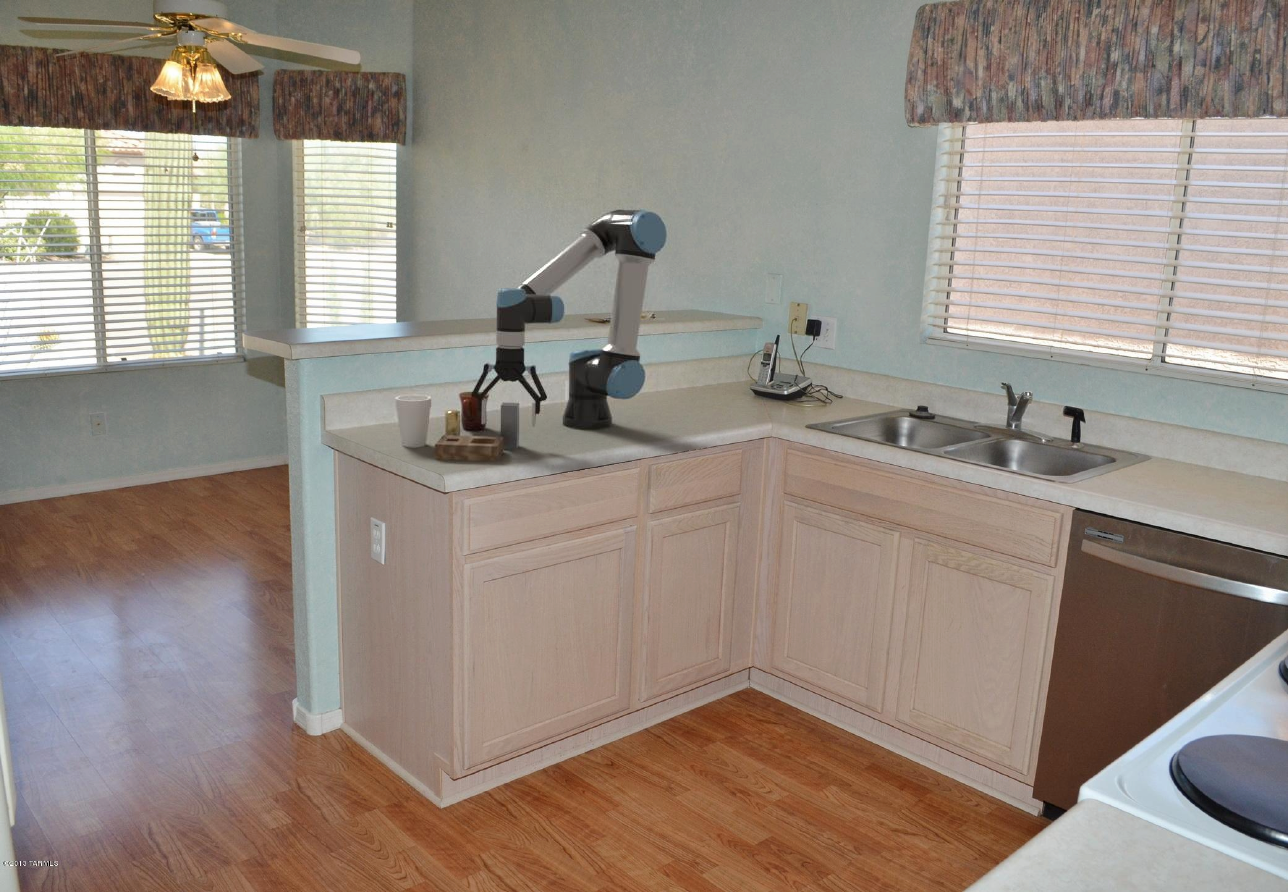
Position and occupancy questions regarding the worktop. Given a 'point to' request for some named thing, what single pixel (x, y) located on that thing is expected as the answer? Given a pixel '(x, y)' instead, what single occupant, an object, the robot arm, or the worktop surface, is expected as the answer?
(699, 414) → the worktop surface
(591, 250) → the robot arm
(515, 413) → the square bit
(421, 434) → the foam cup
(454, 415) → the brass dowel
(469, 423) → the mug
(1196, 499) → the worktop surface
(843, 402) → the worktop surface
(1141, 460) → the worktop surface
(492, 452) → the socket block
